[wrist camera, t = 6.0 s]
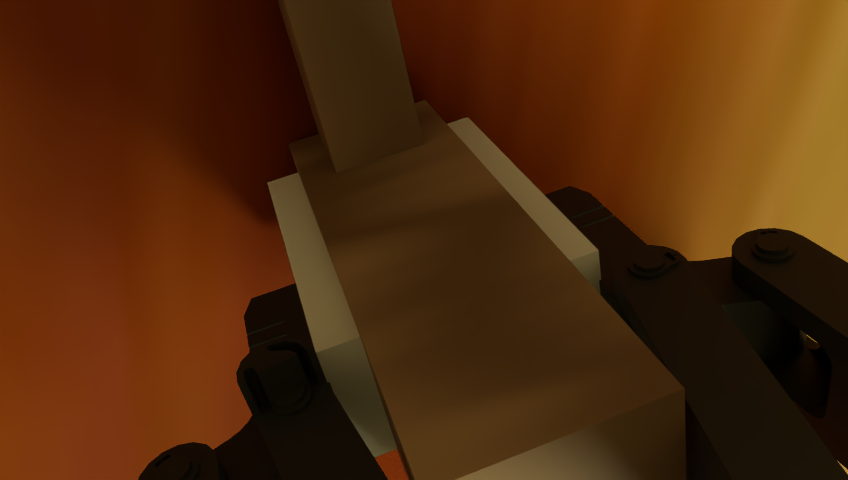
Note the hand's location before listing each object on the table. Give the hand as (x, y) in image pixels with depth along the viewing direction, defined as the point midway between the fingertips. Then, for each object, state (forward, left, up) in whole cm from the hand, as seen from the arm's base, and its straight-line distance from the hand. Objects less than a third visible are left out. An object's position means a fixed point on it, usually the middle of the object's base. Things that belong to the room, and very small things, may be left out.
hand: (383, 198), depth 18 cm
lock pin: (0, +4, -1) cm, 4 cm away
